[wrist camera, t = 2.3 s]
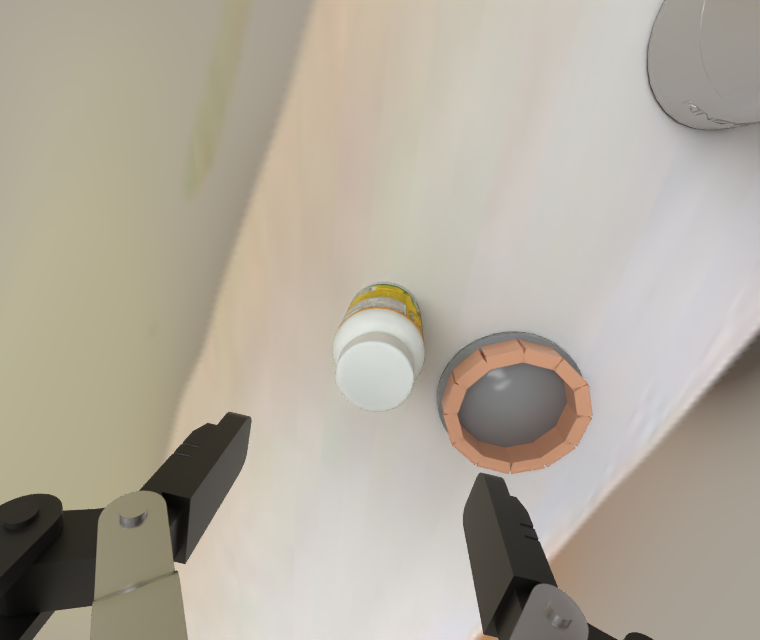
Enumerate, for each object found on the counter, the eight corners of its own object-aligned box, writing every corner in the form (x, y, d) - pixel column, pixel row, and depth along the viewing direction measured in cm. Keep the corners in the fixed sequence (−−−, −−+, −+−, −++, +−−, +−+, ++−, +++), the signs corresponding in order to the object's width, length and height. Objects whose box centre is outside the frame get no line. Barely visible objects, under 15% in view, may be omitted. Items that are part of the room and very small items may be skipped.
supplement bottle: (355, 274, 26) (328, 317, 17) (427, 288, 26) (439, 338, 17) (344, 342, 28) (315, 412, 19) (412, 355, 28) (415, 432, 19)
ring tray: (461, 315, 27) (467, 328, 24) (604, 351, 27) (624, 367, 24) (421, 435, 30) (422, 457, 28) (546, 466, 30) (559, 490, 28)
